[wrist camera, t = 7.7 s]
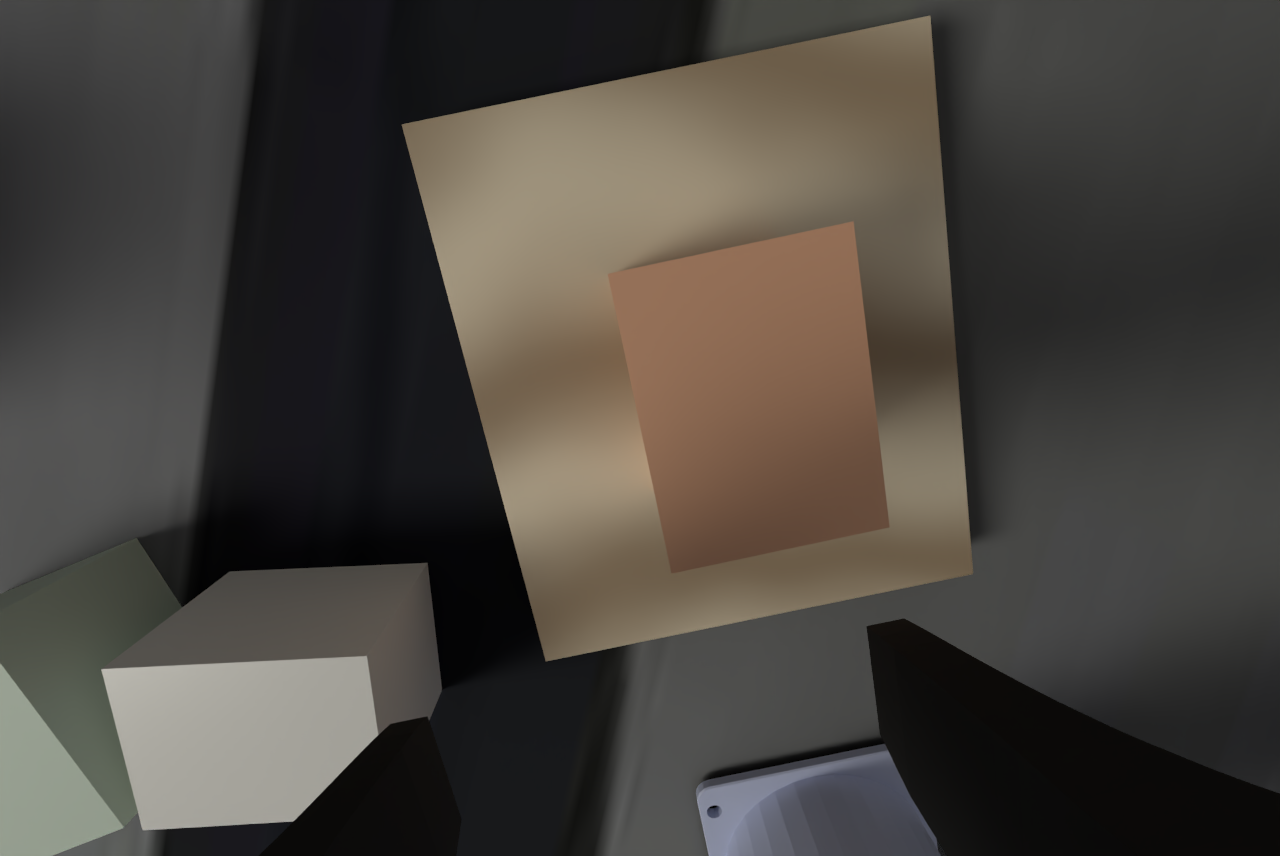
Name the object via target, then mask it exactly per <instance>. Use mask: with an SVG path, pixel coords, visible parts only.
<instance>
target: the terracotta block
mask: <svg viewBox="0 0 1280 856" xmlns="http://www.w3.org/2000/svg"><path fill="white" fill-rule="evenodd" d="M608 278H609V283H610V288H611V292H612V297H613V302H614V306H615V311H616V316H617V320H618V325H619V330H620V335H621V339H622V344H623V349H624V353H625V358H626V363H627V367H628V372H629V377H630V381H631V386H632V391H633V395H634V400H635V405H636V409H637V414H638V419H639V424H640V428H641V433H642V438H643V442H644V447H645V452H646V456H647V461H648V466H649V470H650V475H651V480H652V484H653V489H654V494H655V498H656V503H657V508H658V513H659V517H660V522H661V527H662V531H663V536H664V541H665V545H666V550H667V555H668V559H669V564H670V569H671V573H677V572H682V571H686V570H691V569H696V568H701V567H705V566H710V565H715V564H719V563H724V562H729V561H734V560H738V559H743V558H748V557H752V556H757V555H762V554H767V553H771V552H776V551H781V550H785V549H790V548H795V547H800V546H804V545H809V544H814V543H819V542H823V541H828V540H833V539H837V538H842V537H847V536H852V535H856V534H861V533H866V532H870V531H875V530H880V529H885V528H889V527H890V526H889V517H888V509H887V500H886V492H885V483H884V475H883V466H882V458H881V450H880V441H879V433H878V424H877V416H876V407H875V399H874V390H873V382H872V373H871V365H870V356H869V348H868V339H867V331H866V323H865V314H864V306H863V297H862V289H861V280H860V272H859V263H858V255H857V246H856V238H855V229H854V221H853V222H848V223H843V224H839V225H834V226H829V227H825V228H820V229H815V230H811V231H806V232H801V233H797V234H792V235H787V236H783V237H778V238H773V239H769V240H764V241H759V242H755V243H750V244H745V245H740V246H736V247H731V248H726V249H722V250H717V251H712V252H708V253H703V254H698V255H694V256H689V257H684V258H680V259H675V260H670V261H666V262H661V263H656V264H652V265H647V266H642V267H638V268H633V269H628V270H624V271H619V272H614V273H609V274H608Z"/></svg>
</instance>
